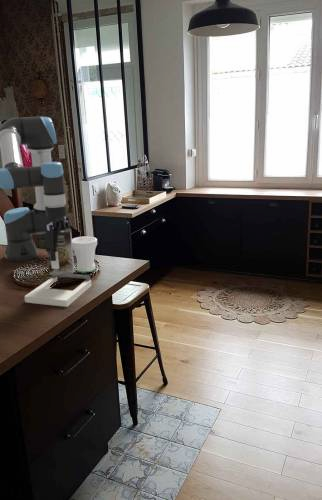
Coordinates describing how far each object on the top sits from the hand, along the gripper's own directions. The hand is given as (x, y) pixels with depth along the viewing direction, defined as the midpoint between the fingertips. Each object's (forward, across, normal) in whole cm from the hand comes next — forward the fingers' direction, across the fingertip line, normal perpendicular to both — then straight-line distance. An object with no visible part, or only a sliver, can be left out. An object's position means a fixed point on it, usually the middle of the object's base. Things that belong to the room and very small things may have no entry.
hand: (61, 264), depth 161 cm
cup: (+11, -22, -1) cm, 24 cm away
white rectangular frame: (+11, +3, 0) cm, 11 cm away
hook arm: (+11, -6, 0) cm, 12 cm away
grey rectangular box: (+3, 0, 0) cm, 3 cm away
